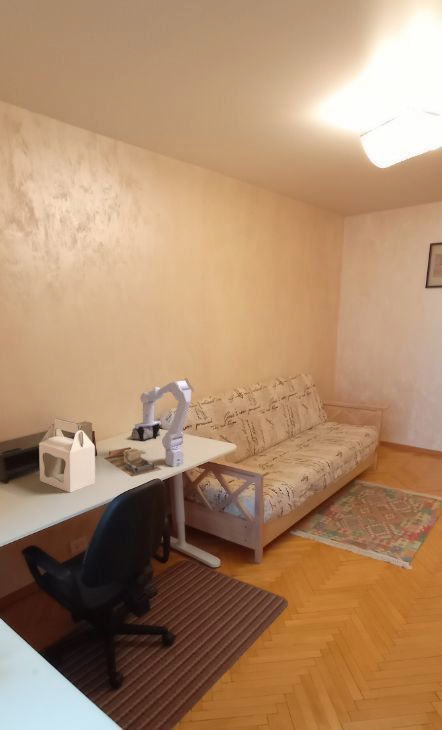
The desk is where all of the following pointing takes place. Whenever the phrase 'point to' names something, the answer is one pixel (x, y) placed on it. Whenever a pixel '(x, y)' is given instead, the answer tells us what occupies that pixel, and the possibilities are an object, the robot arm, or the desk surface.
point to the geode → (147, 433)
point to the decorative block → (85, 429)
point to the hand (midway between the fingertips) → (148, 439)
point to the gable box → (67, 457)
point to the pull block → (128, 455)
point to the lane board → (132, 469)
